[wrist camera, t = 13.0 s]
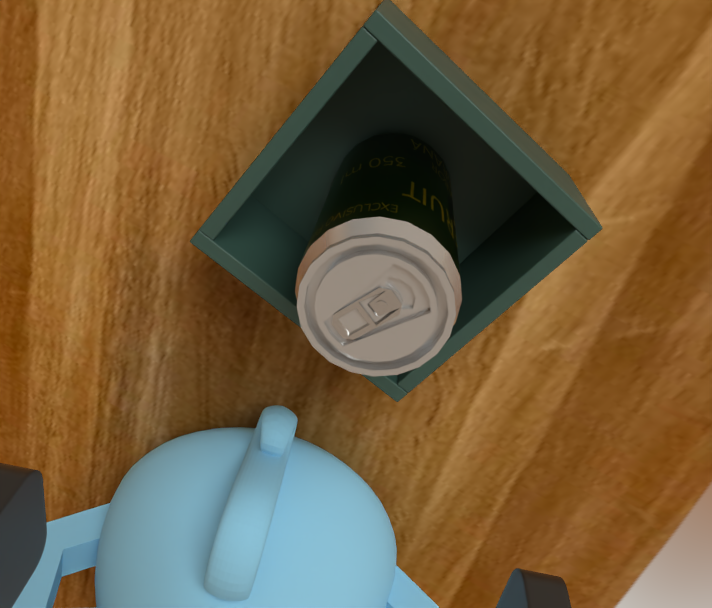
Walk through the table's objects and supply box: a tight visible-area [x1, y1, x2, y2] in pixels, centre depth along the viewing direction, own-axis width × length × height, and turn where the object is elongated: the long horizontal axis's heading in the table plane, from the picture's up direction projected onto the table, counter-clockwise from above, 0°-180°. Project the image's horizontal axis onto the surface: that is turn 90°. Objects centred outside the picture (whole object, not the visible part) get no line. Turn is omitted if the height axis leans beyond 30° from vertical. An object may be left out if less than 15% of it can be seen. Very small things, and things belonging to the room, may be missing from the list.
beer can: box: [295, 133, 462, 376], centre depth 25 cm, size 5×5×12 cm
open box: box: [190, 0, 602, 402], centre depth 28 cm, size 11×11×6 cm
